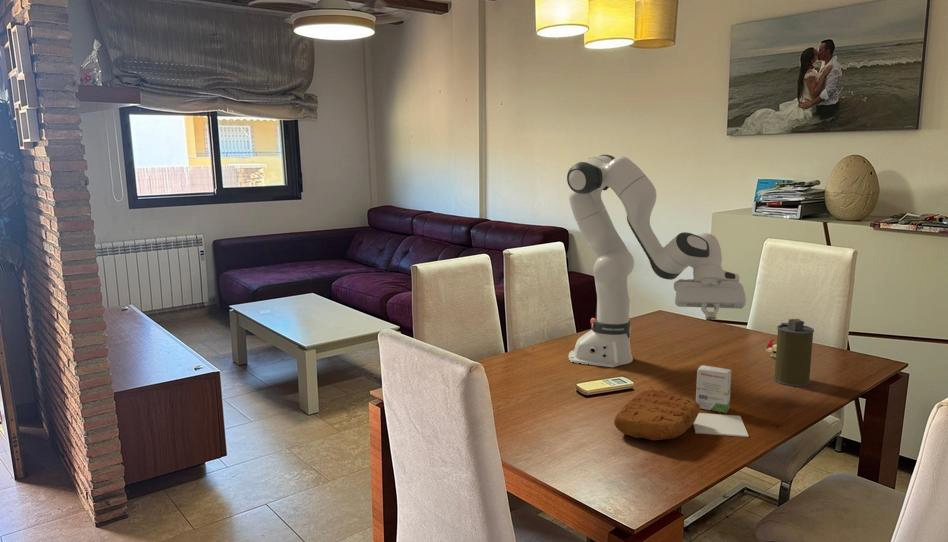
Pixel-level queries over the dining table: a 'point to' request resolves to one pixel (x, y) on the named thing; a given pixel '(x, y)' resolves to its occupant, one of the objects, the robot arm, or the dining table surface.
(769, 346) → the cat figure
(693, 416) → the cuneiform tablet
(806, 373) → the canister
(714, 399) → the ink box
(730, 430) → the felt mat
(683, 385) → the dining table surface
